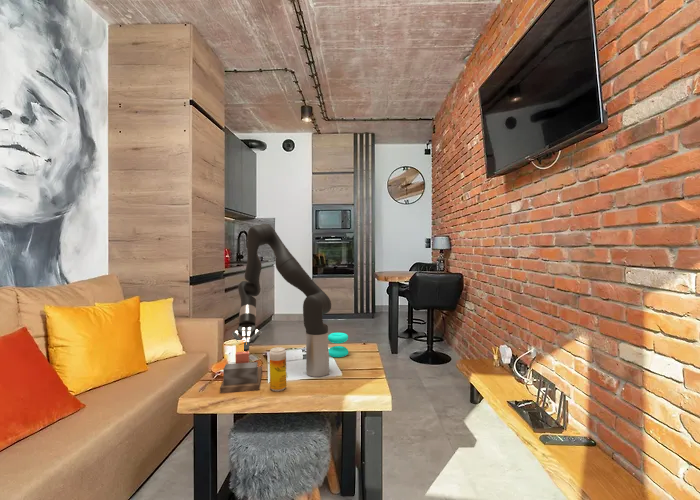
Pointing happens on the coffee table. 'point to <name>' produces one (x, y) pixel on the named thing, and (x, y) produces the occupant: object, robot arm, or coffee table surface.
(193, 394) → the coffee table surface
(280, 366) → the beer glass
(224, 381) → the grey and brown block
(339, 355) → the donuts
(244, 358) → the reddish brown block
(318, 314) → the robot arm
